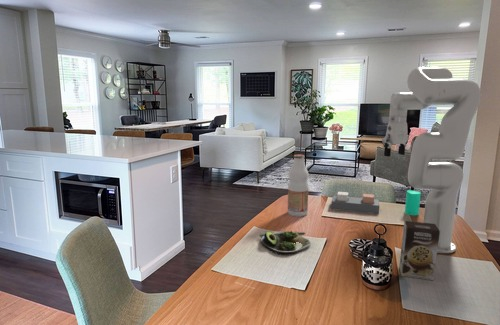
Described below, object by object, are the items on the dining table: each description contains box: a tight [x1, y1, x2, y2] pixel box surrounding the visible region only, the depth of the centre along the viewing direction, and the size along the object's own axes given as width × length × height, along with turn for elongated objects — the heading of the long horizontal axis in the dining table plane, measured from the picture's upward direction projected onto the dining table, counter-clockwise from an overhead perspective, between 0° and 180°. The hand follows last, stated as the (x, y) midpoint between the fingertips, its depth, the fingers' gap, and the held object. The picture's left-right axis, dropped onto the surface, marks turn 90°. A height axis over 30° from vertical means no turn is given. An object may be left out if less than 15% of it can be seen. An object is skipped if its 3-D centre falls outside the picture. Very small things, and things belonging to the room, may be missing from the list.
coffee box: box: [398, 220, 440, 281], centre depth 103 cm, size 9×6×16 cm
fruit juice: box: [287, 154, 310, 217], centre depth 155 cm, size 9×9×28 cm
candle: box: [404, 189, 422, 216], centre depth 157 cm, size 6×6×12 cm
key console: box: [330, 195, 381, 215], centre depth 165 cm, size 22×10×4 cm, turn 72°
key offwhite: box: [336, 191, 349, 201], centre depth 166 cm, size 5×5×4 cm
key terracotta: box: [362, 193, 375, 204], centre depth 163 cm, size 5×5×4 cm
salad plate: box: [258, 230, 312, 256], centre depth 126 cm, size 19×18×5 cm
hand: (394, 155), depth 161 cm, fingers open, 9 cm apart
